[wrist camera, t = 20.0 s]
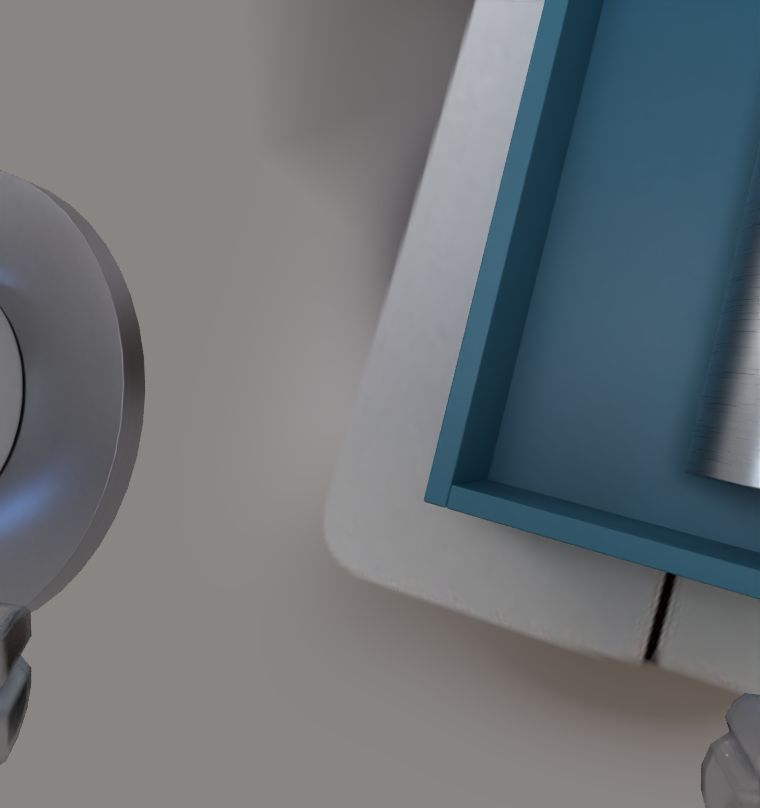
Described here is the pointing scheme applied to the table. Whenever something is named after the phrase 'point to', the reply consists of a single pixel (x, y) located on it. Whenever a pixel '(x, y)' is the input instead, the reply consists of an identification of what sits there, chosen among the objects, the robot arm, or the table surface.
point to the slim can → (734, 368)
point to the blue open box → (612, 290)
